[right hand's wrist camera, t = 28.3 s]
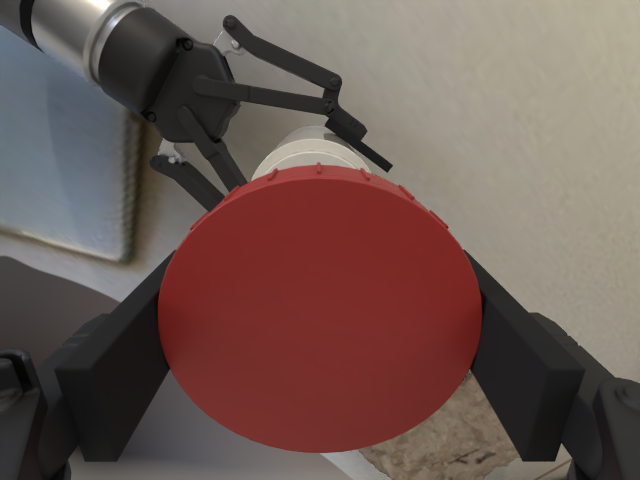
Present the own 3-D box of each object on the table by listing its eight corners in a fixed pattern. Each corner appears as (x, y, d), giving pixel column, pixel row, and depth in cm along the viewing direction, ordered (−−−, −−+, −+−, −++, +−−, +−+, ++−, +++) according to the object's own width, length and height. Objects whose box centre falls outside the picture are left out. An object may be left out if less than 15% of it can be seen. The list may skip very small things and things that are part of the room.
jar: (281, 213, 39) (258, 289, 23) (265, 132, 36) (224, 155, 20) (359, 201, 38) (390, 269, 23) (349, 118, 35) (377, 130, 19)
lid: (488, 358, 13) (518, 402, 11) (260, 434, 15) (251, 485, 13) (406, 108, 10) (427, 108, 8) (125, 236, 12) (84, 262, 10)
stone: (399, 504, 52) (411, 543, 46) (347, 424, 50) (352, 453, 44) (521, 430, 51) (550, 460, 45) (472, 348, 50) (494, 367, 44)
